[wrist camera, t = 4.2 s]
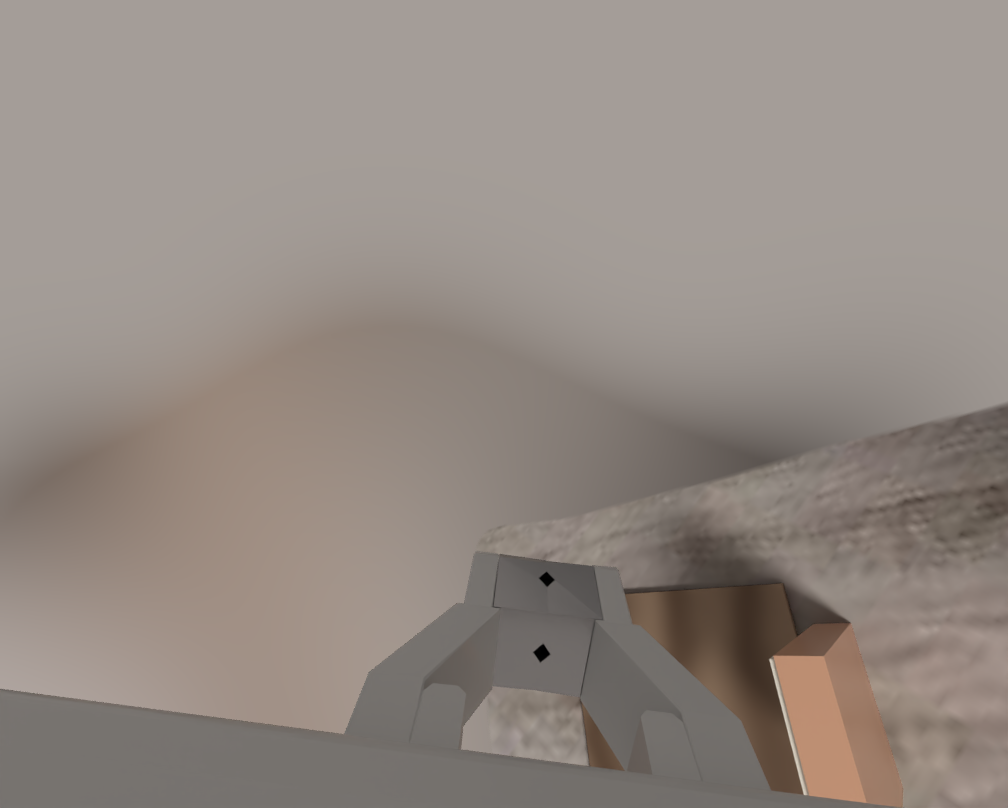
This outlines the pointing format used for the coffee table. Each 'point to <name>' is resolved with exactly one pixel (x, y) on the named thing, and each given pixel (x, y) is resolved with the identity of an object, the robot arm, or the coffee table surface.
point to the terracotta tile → (834, 718)
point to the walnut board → (723, 663)
